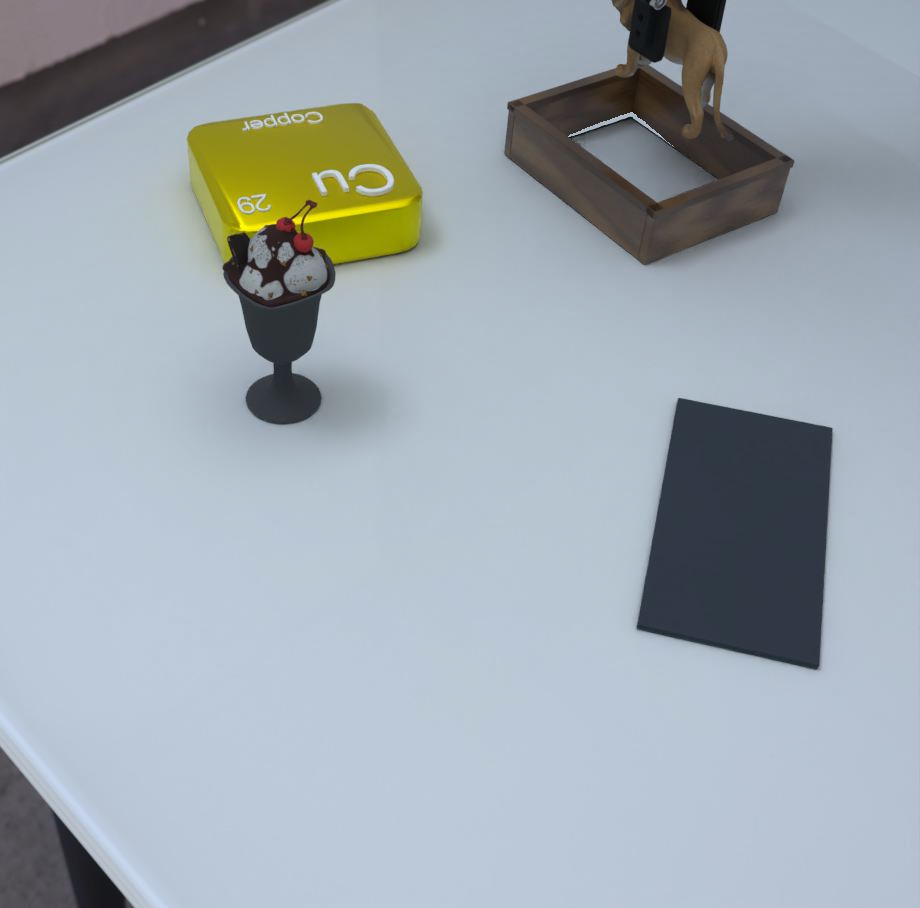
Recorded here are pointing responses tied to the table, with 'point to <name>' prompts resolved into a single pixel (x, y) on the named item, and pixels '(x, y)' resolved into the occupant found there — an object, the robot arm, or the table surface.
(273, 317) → the sundae
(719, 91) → the lion figurine
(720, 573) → the mat
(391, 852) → the table surface
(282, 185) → the element tile
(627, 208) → the wooden box
